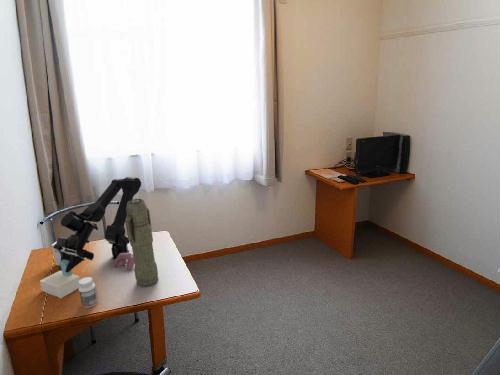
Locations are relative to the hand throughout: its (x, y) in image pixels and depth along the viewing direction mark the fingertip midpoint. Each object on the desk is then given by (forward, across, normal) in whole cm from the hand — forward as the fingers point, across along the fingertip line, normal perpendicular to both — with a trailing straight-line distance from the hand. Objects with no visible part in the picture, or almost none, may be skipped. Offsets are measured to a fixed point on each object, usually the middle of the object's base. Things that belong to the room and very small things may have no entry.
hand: (63, 271), depth 142 cm
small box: (-4, -18, +14) cm, 24 cm away
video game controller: (-10, +10, +21) cm, 25 cm away
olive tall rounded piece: (-7, +29, +17) cm, 34 cm away
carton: (+6, 0, +3) cm, 7 cm away
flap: (+3, 0, 0) cm, 3 cm away
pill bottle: (+8, +20, +2) cm, 21 cm away
